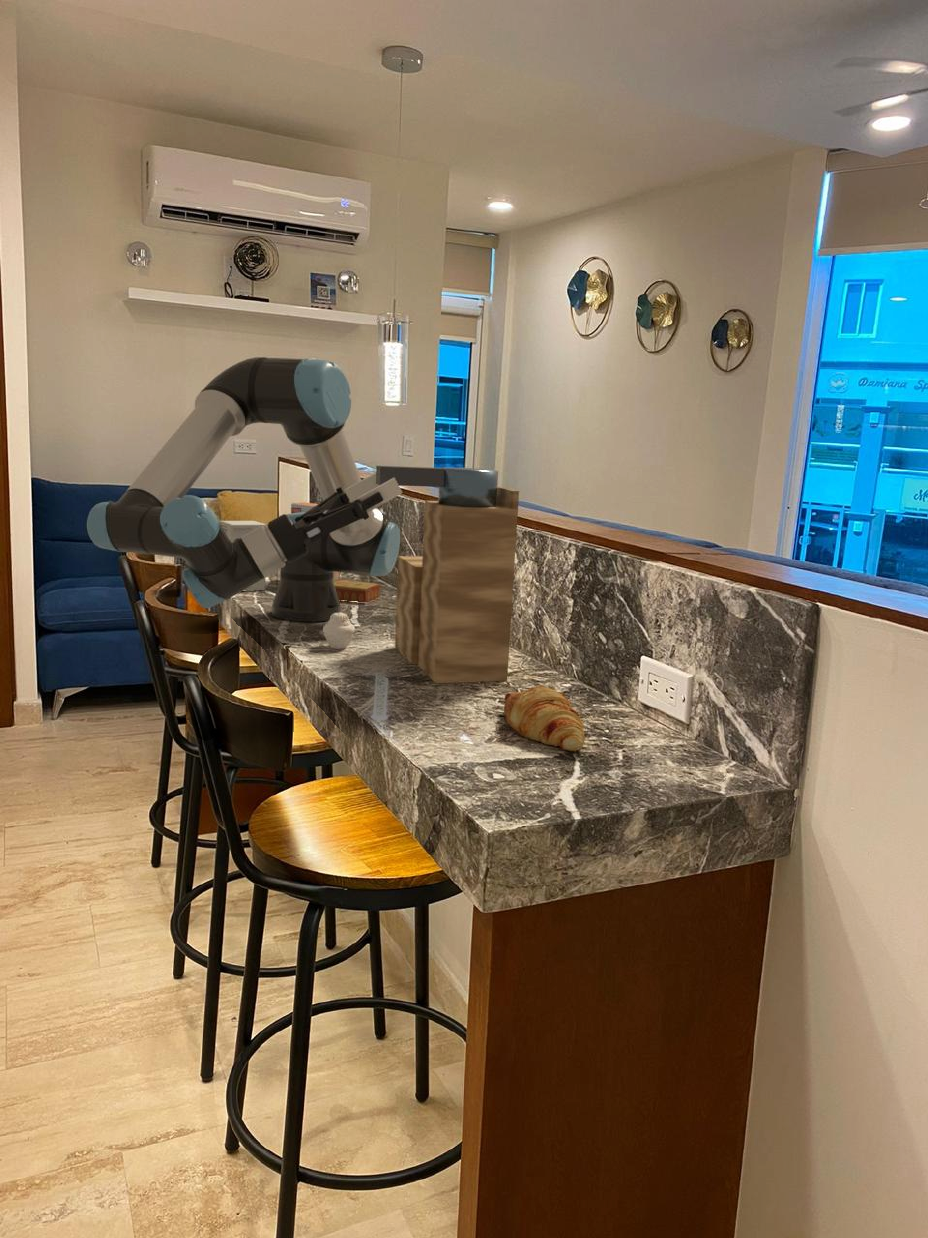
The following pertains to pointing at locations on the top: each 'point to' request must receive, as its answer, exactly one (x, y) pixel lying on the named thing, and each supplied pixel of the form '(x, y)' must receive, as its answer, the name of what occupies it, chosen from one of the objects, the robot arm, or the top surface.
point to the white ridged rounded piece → (338, 631)
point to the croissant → (545, 717)
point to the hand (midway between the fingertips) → (389, 481)
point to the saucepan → (448, 483)
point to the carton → (356, 590)
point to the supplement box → (236, 532)
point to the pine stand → (460, 592)
